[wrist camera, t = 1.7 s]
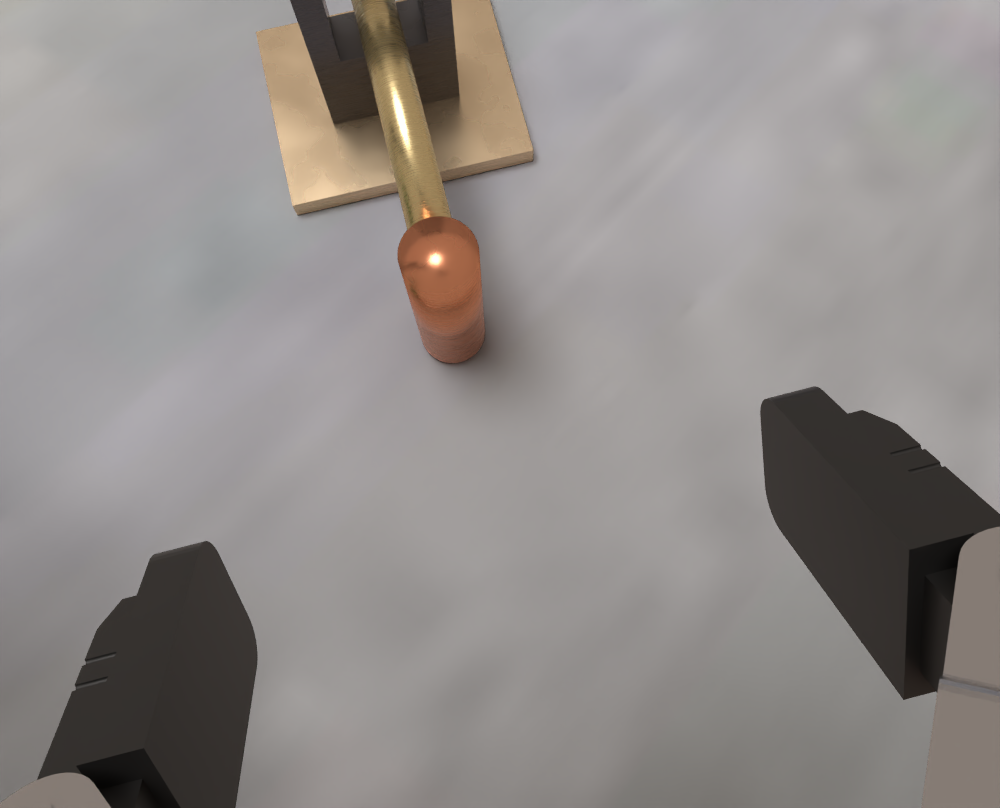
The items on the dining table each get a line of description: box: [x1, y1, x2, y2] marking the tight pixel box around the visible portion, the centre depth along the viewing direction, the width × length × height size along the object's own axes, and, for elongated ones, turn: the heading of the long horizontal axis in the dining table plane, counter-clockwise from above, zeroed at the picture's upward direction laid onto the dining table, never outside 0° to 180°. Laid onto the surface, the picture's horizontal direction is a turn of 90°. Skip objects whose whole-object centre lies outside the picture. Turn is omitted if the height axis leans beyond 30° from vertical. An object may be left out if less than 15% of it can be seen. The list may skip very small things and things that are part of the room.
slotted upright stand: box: [256, 0, 533, 215], centre depth 38 cm, size 10×12×11 cm
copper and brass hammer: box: [351, 0, 485, 363], centre depth 37 cm, size 20×3×9 cm, turn 14°
